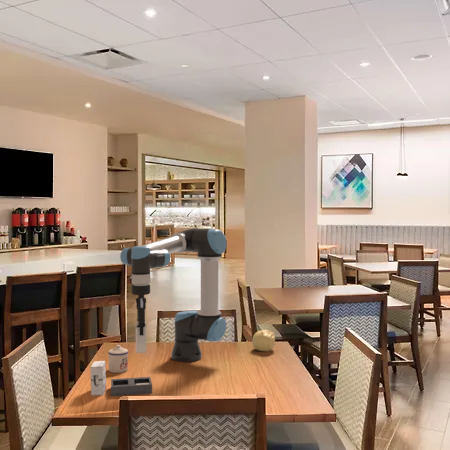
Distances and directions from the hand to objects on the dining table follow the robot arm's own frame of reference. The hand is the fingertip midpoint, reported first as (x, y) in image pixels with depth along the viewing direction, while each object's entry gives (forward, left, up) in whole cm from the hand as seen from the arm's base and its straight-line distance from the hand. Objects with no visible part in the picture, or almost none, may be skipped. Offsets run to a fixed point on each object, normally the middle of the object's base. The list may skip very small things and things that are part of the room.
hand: (141, 341), depth 215 cm
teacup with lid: (+8, -31, -21) cm, 38 cm away
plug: (0, 0, -4) cm, 4 cm away
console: (+4, 0, -20) cm, 21 cm away
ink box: (+17, -1, -21) cm, 27 cm away
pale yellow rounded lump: (-67, -50, -21) cm, 86 cm away
